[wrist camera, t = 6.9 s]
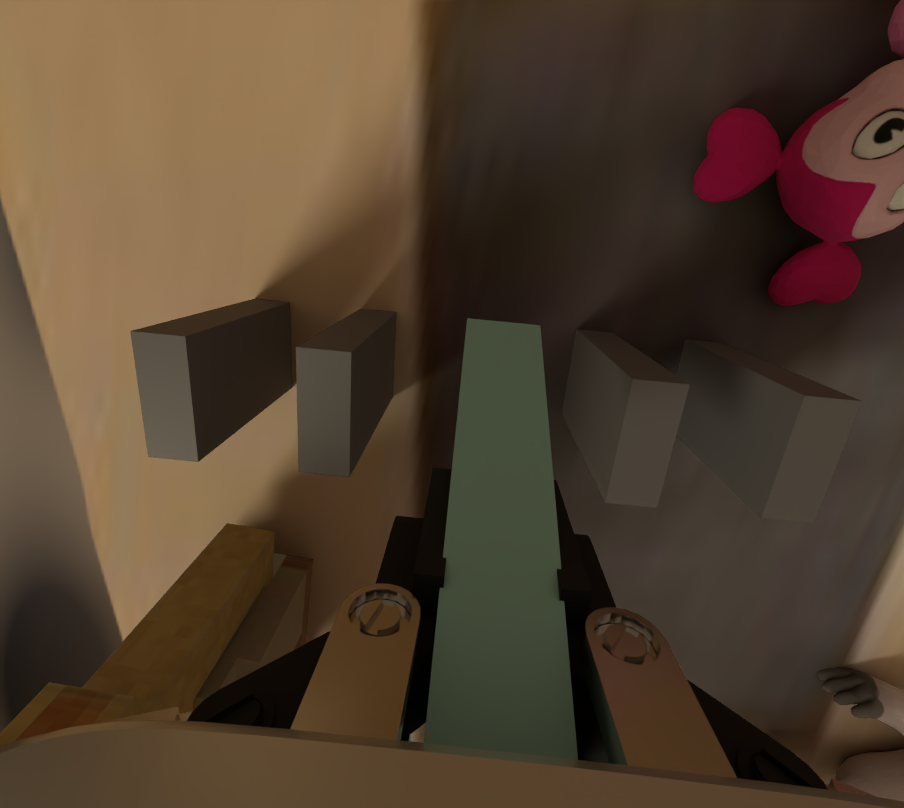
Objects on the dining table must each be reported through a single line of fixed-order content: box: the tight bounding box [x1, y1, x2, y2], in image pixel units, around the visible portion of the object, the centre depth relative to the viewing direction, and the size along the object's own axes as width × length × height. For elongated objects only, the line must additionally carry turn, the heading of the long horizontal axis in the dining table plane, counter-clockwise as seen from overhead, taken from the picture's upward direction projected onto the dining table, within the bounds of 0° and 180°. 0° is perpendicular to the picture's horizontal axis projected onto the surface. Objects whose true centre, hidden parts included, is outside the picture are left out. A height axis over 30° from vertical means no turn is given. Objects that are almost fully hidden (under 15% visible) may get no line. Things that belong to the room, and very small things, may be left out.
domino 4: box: [561, 329, 690, 508], centre depth 22 cm, size 5×2×10 cm, turn 175°
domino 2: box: [296, 309, 396, 477], centre depth 22 cm, size 5×2×10 cm, turn 175°
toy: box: [0, 523, 313, 746], centre depth 24 cm, size 6×17×20 cm, turn 170°
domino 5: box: [676, 339, 862, 524], centre depth 22 cm, size 5×2×10 cm, turn 175°
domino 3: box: [424, 318, 578, 760], centre depth 11 cm, size 5×2×10 cm, turn 176°
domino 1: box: [130, 299, 292, 462], centre depth 22 cm, size 5×2×10 cm, turn 175°
